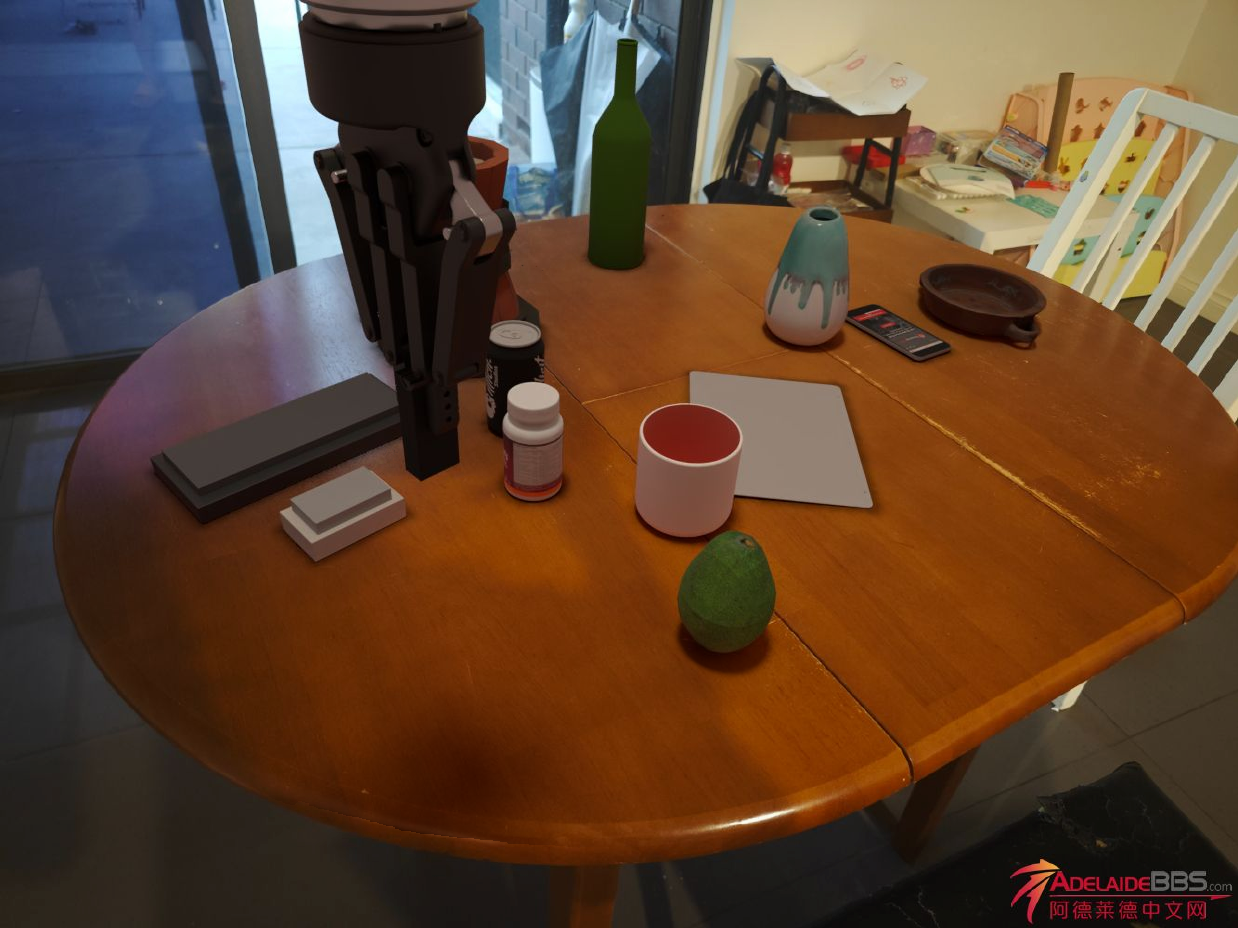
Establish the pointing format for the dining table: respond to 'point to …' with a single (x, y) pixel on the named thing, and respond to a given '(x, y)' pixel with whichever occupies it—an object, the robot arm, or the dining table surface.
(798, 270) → the vase
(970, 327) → the dish
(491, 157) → the tankard
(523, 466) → the pill bottle
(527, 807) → the dining table surface
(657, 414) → the cup
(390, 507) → the stepped grey block
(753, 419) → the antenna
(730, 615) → the fruit
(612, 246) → the wine bottle
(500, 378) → the beverage can
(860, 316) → the smartphone
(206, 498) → the dark grey stepped slab
